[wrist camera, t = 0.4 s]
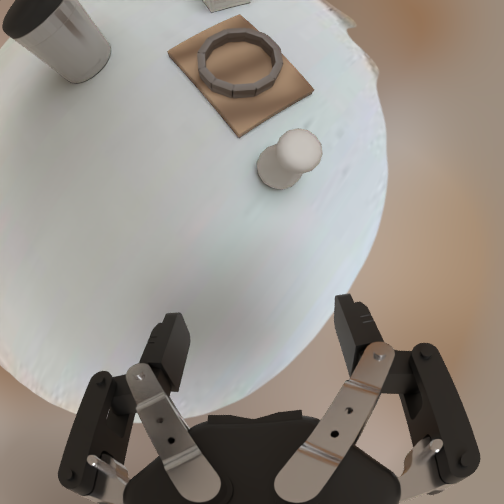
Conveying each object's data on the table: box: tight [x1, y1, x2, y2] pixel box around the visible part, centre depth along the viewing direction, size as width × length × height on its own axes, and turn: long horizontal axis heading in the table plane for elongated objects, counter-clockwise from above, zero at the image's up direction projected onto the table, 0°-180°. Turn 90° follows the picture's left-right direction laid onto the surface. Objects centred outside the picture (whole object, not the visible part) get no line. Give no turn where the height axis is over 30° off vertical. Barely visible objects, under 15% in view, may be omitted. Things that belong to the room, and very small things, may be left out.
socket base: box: [167, 14, 314, 138], centre depth 30 cm, size 18×13×4 cm
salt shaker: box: [257, 128, 322, 190], centre depth 29 cm, size 6×6×13 cm
